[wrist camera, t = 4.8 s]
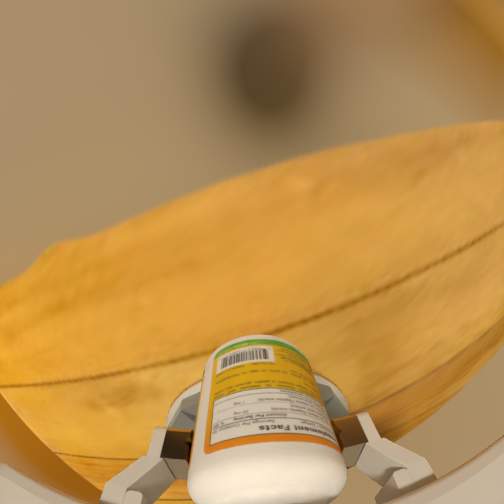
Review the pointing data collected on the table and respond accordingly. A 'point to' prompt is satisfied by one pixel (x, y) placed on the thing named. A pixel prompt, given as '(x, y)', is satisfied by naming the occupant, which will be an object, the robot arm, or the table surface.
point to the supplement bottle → (263, 429)
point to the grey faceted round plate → (187, 401)
